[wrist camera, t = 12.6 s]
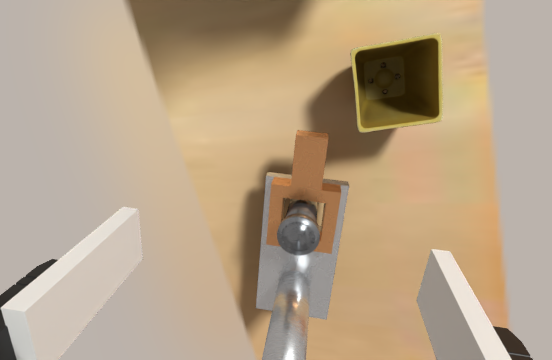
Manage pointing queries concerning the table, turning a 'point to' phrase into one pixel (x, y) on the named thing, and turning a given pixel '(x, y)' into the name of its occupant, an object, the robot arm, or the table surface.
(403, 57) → the flower pot
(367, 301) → the table surface
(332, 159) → the table surface
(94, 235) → the robot arm
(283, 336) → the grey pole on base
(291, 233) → the pin
